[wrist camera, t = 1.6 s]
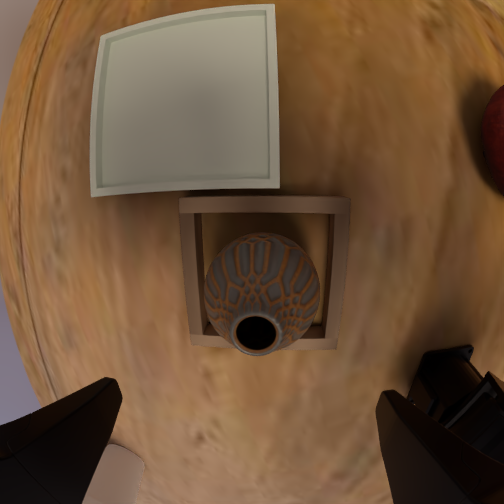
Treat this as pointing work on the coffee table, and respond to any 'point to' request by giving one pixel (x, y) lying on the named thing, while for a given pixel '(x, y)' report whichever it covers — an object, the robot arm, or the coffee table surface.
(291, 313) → the vase
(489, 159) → the fruit
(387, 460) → the robot arm
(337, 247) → the holder
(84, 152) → the coffee table surface
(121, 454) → the foam cup
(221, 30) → the tray
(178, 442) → the coffee table surface
